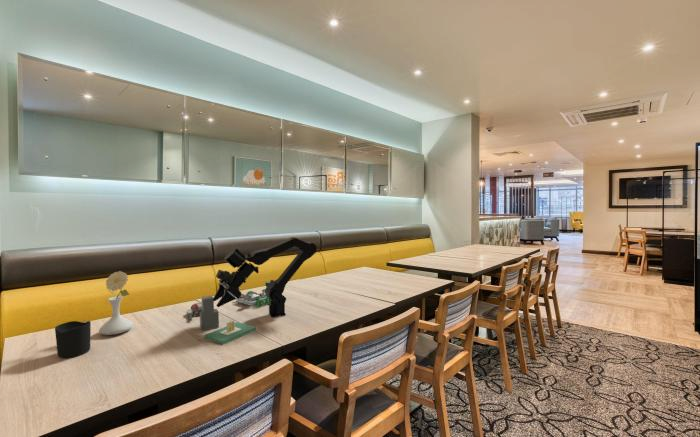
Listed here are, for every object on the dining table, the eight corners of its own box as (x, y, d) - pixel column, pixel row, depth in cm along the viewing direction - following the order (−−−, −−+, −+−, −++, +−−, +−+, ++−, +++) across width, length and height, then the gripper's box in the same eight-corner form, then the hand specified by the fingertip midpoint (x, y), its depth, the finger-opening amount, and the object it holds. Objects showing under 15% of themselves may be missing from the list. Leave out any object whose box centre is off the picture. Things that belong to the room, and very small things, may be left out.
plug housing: (216, 323, 142) (216, 295, 141) (218, 327, 138) (218, 297, 137) (200, 326, 138) (199, 297, 137) (201, 330, 134) (200, 300, 134)
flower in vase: (92, 335, 130) (89, 272, 129) (121, 325, 140) (119, 266, 139) (114, 340, 125) (111, 274, 124) (142, 329, 136) (140, 269, 134)
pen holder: (87, 344, 121) (86, 317, 121) (95, 352, 115) (93, 323, 115) (53, 353, 114) (52, 325, 113) (59, 362, 108) (58, 332, 107)
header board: (237, 324, 140) (237, 313, 140) (255, 329, 135) (255, 318, 135) (204, 338, 127) (203, 326, 126) (223, 344, 121) (222, 331, 121)
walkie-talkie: (186, 310, 161) (188, 323, 143) (186, 301, 160) (187, 313, 143) (206, 307, 165) (210, 320, 147) (206, 298, 165) (209, 310, 147)
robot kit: (291, 298, 180) (291, 281, 180) (253, 310, 160) (253, 291, 160) (268, 292, 191) (268, 276, 191) (230, 303, 171) (230, 285, 171)
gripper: (223, 259, 149) (197, 287, 143) (232, 266, 133) (203, 297, 128) (241, 274, 153) (216, 302, 148) (252, 283, 137) (225, 314, 132)
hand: (215, 303), depth 139 cm, fingers open, 9 cm apart
